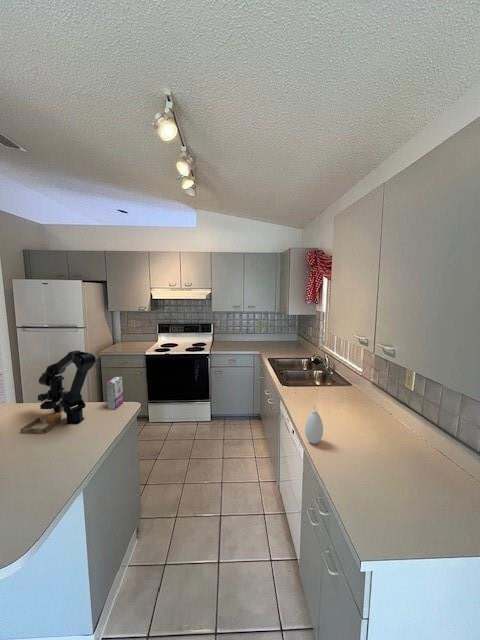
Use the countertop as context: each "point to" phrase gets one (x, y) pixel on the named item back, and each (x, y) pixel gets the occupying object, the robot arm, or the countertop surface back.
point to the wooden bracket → (39, 430)
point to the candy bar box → (115, 392)
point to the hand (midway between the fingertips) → (58, 414)
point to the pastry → (53, 417)
